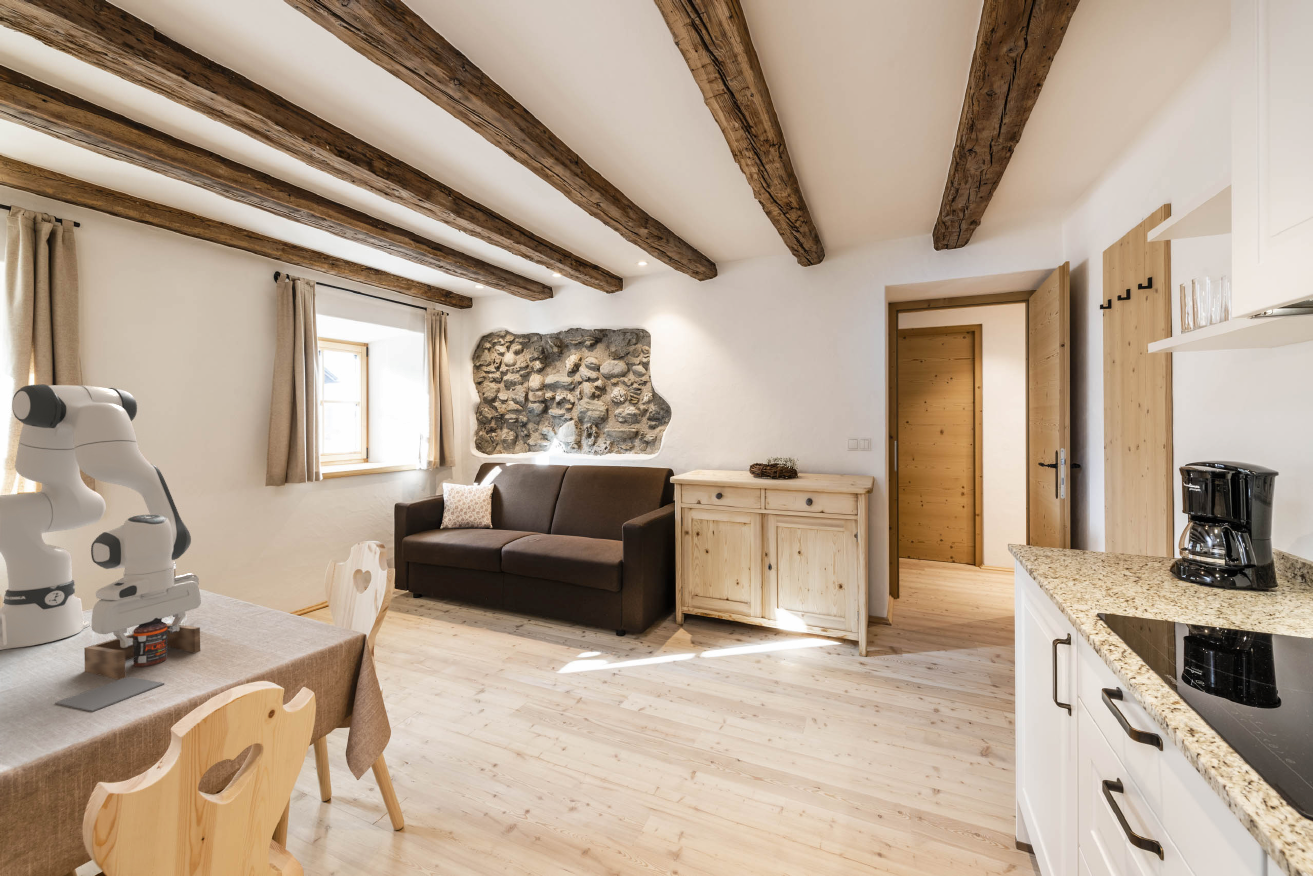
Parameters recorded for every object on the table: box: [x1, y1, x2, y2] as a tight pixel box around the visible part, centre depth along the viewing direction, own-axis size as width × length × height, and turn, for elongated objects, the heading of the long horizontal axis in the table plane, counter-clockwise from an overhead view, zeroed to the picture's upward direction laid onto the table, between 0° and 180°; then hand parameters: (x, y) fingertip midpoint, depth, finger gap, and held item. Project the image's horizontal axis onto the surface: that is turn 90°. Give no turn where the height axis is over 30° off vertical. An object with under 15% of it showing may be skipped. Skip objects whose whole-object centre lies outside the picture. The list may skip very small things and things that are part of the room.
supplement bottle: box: [132, 618, 168, 668], centre depth 127 cm, size 6×6×11 cm
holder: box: [83, 622, 201, 680], centre depth 128 cm, size 12×16×6 cm
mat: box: [54, 676, 165, 713], centre depth 112 cm, size 12×12×1 cm
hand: (151, 639), depth 127 cm, fingers open, 8 cm apart
